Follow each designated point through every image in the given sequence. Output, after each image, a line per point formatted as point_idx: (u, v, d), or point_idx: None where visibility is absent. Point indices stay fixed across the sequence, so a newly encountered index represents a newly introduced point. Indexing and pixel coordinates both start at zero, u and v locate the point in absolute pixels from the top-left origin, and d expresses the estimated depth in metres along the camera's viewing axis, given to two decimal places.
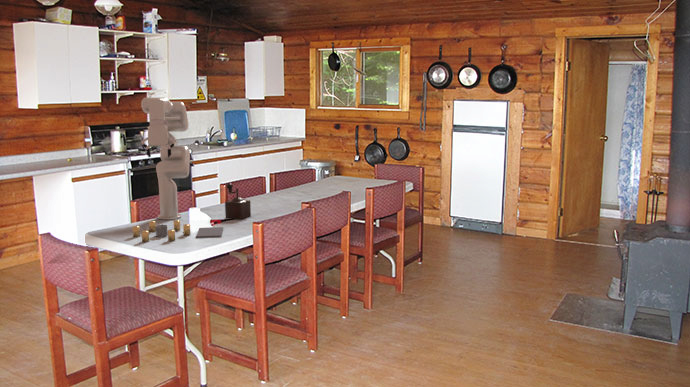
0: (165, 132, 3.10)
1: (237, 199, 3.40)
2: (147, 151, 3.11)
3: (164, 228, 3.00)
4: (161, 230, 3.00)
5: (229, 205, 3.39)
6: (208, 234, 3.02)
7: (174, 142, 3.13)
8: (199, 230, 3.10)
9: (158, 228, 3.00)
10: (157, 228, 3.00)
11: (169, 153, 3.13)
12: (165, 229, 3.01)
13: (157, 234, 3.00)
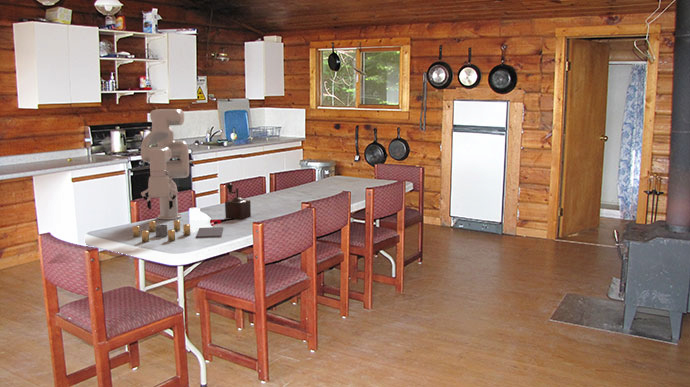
0: (166, 183, 2.96)
1: (237, 199, 3.40)
2: (148, 203, 2.98)
3: (164, 228, 3.00)
4: (161, 230, 3.00)
5: (229, 205, 3.39)
6: (208, 234, 3.02)
7: (176, 193, 2.99)
8: (199, 230, 3.10)
9: (158, 228, 3.00)
10: (157, 228, 3.00)
11: (171, 205, 3.00)
12: (165, 229, 3.01)
13: (157, 234, 3.00)
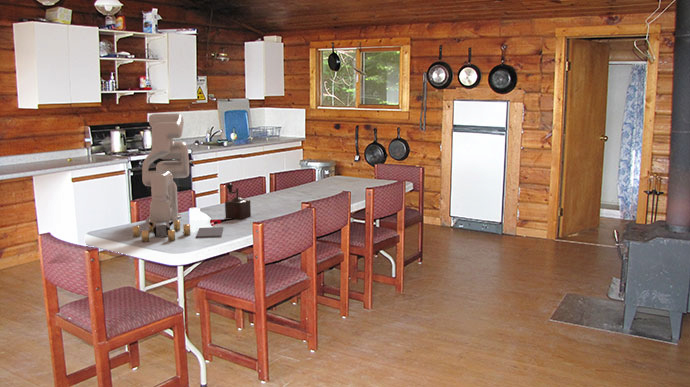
0: (168, 208, 2.99)
1: (237, 199, 3.40)
2: (153, 229, 3.01)
3: (164, 228, 3.00)
4: (161, 230, 3.00)
5: (229, 205, 3.39)
6: (208, 234, 3.02)
7: (174, 221, 3.02)
8: (199, 230, 3.10)
9: (158, 228, 3.00)
10: (157, 228, 3.00)
11: None
12: (165, 229, 3.01)
13: (157, 234, 3.00)
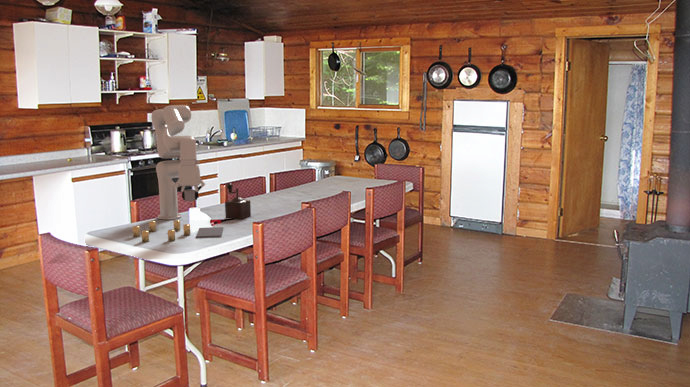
0: (196, 172, 2.99)
1: (237, 199, 3.40)
2: (182, 194, 3.01)
3: (192, 192, 3.00)
4: (189, 194, 3.00)
5: (229, 205, 3.39)
6: (208, 234, 3.02)
7: (202, 185, 3.02)
8: (199, 230, 3.10)
9: (186, 192, 3.00)
10: (185, 192, 3.00)
11: None
12: (193, 193, 3.01)
13: (185, 198, 3.01)
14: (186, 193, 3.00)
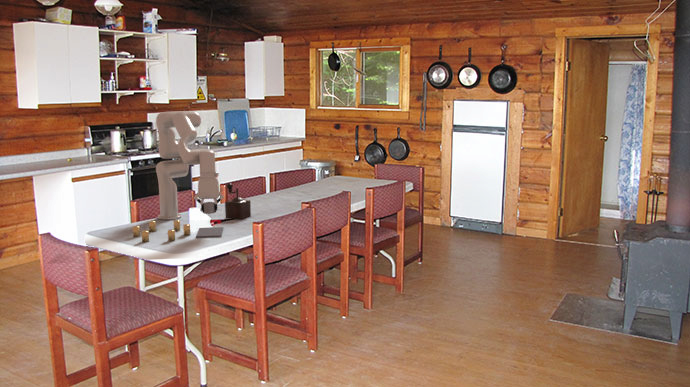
0: (216, 185, 3.02)
1: (237, 199, 3.40)
2: (201, 206, 3.04)
3: (212, 205, 3.03)
4: (209, 207, 3.03)
5: (229, 205, 3.39)
6: (208, 234, 3.02)
7: (221, 198, 3.05)
8: (199, 230, 3.10)
9: (206, 205, 3.03)
10: (205, 205, 3.03)
11: None
12: (213, 206, 3.04)
13: (205, 211, 3.04)
14: (206, 206, 3.03)
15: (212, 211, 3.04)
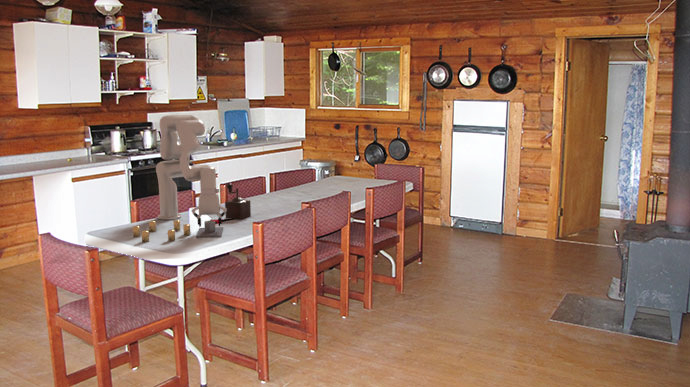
0: (216, 201, 3.03)
1: (237, 199, 3.40)
2: (198, 220, 3.05)
3: (213, 224, 3.05)
4: (210, 226, 3.05)
5: (229, 205, 3.39)
6: (208, 234, 3.02)
7: (225, 211, 3.06)
8: (199, 230, 3.10)
9: (207, 224, 3.05)
10: (206, 224, 3.05)
11: (220, 222, 3.07)
12: (213, 225, 3.06)
13: (206, 230, 3.05)
14: (206, 225, 3.05)
15: (213, 230, 3.06)
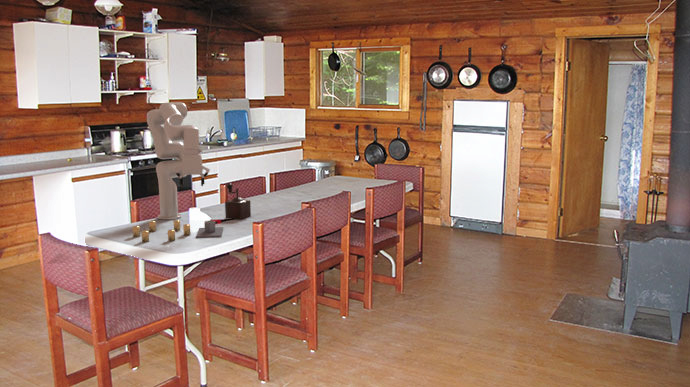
0: (199, 161, 3.07)
1: (237, 199, 3.40)
2: (180, 180, 3.08)
3: (213, 224, 3.05)
4: (210, 226, 3.05)
5: (229, 205, 3.39)
6: (208, 234, 3.02)
7: (208, 171, 3.10)
8: (199, 230, 3.10)
9: (207, 224, 3.05)
10: (206, 224, 3.05)
11: None
12: (213, 225, 3.06)
13: (206, 230, 3.05)
14: (206, 225, 3.05)
15: (213, 230, 3.06)
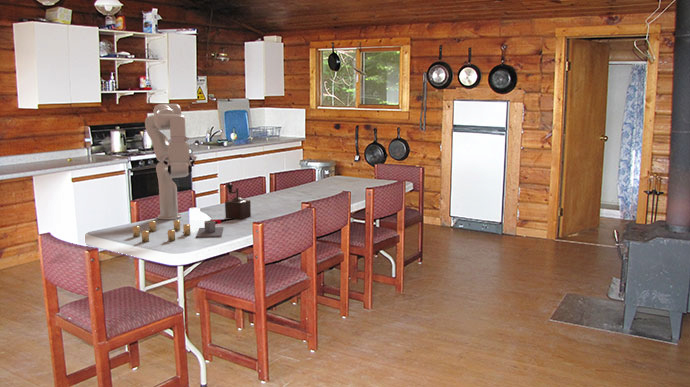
0: (186, 149, 3.11)
1: (237, 199, 3.40)
2: (168, 168, 3.12)
3: (213, 224, 3.05)
4: (210, 226, 3.05)
5: (229, 205, 3.39)
6: (208, 234, 3.02)
7: (195, 159, 3.14)
8: (199, 230, 3.10)
9: (207, 224, 3.05)
10: (206, 224, 3.05)
11: (190, 170, 3.14)
12: (213, 225, 3.06)
13: (206, 230, 3.05)
14: (206, 225, 3.05)
15: (213, 230, 3.06)
